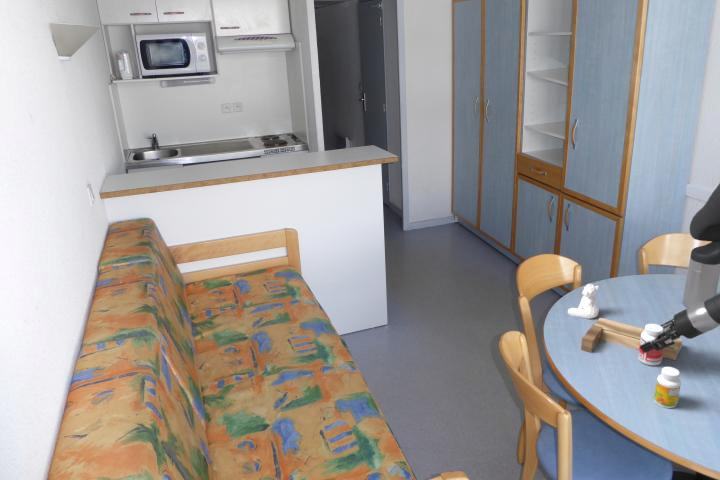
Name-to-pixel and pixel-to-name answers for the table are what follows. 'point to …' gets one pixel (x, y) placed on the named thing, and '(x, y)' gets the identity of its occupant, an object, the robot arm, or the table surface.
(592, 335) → the wooden l-shaped block
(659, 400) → the supplement bottle
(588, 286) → the seated beast figurine
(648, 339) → the pill bottle
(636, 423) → the table surface
